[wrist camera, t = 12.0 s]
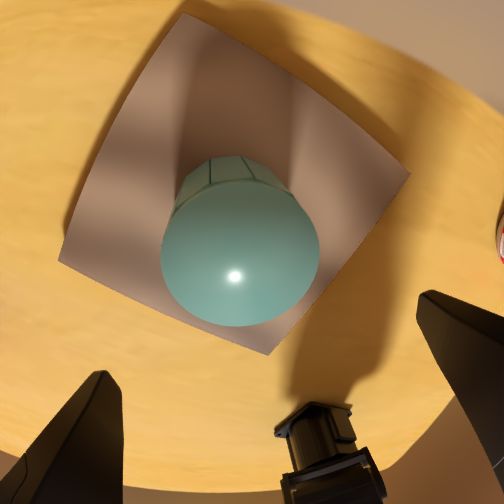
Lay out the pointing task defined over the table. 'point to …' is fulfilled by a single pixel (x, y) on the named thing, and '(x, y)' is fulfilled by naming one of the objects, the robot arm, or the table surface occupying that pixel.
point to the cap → (237, 244)
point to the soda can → (500, 239)
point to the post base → (215, 146)
